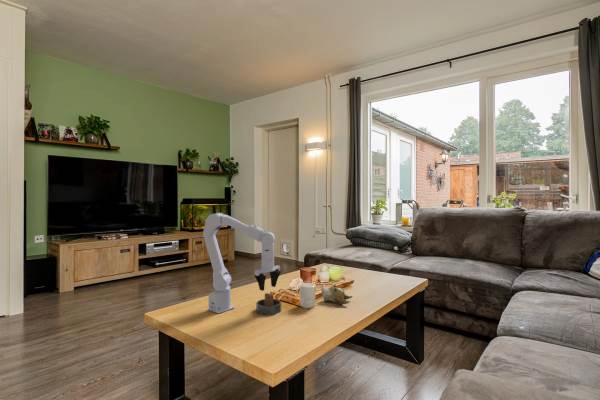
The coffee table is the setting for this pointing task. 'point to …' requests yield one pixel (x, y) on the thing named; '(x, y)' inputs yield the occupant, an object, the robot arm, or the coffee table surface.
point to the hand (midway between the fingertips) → (267, 288)
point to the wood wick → (268, 299)
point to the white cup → (307, 295)
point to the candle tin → (268, 307)
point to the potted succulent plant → (334, 294)
